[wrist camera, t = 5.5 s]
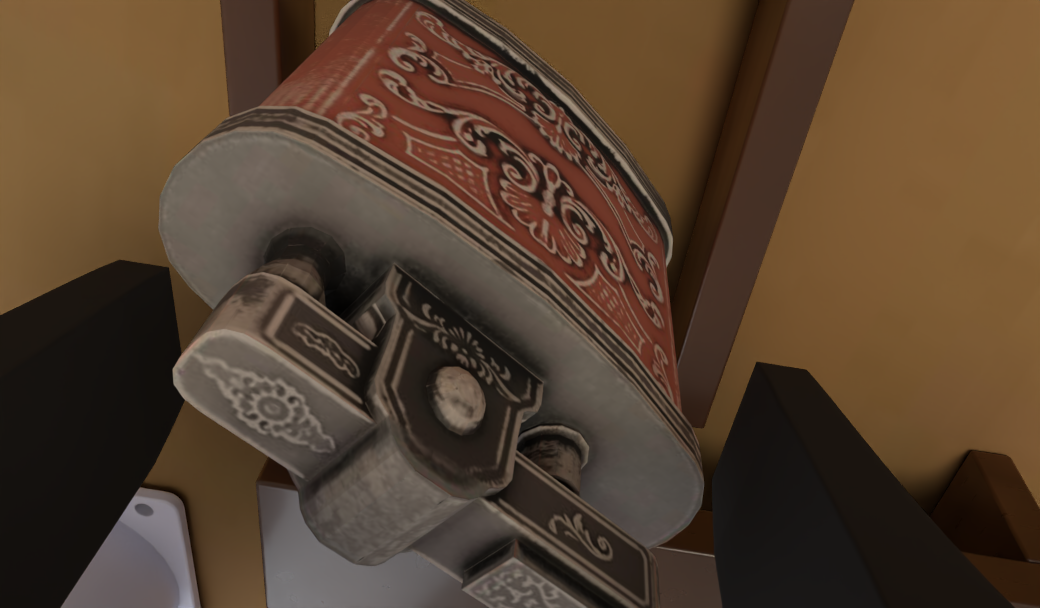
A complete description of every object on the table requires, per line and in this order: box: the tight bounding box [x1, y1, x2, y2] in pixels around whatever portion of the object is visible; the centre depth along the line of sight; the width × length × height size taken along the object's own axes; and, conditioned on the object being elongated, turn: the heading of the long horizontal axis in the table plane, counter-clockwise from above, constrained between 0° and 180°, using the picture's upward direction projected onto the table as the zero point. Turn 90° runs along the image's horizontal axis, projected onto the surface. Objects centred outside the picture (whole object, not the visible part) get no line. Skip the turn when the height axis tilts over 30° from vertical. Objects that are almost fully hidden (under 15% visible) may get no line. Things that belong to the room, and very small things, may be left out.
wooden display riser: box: [220, 0, 1040, 608], centre depth 17 cm, size 18×21×4 cm
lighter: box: [159, 0, 704, 608], centre depth 12 cm, size 8×3×10 cm, turn 47°
